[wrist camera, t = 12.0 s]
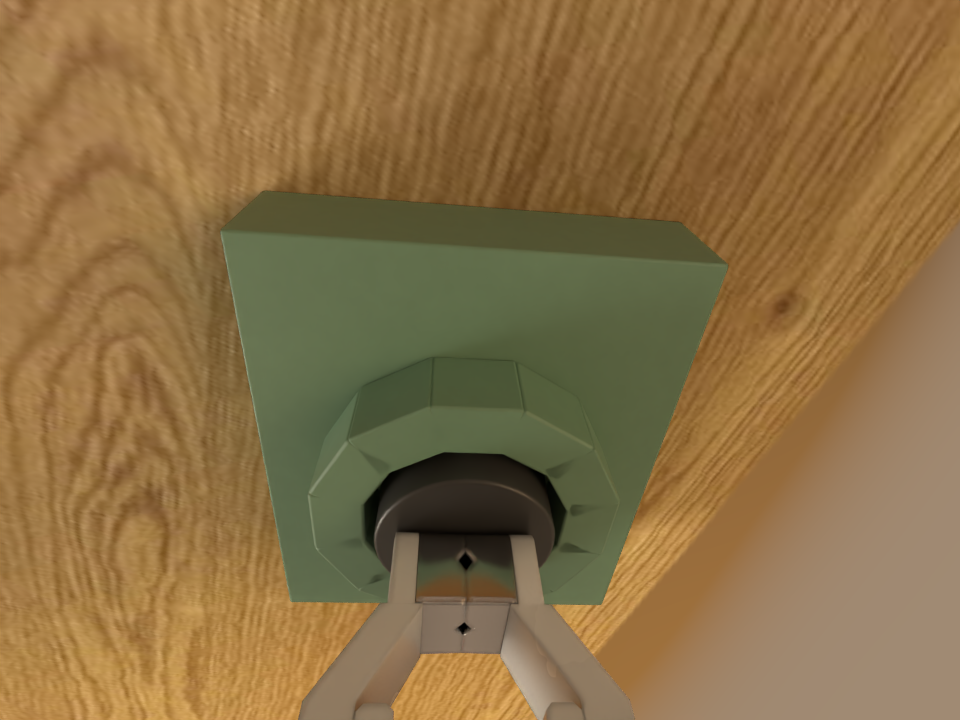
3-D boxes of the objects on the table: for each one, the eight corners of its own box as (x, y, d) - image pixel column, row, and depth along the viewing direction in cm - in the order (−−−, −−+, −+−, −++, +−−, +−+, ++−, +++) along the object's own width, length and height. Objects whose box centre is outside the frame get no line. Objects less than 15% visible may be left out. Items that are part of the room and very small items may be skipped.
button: (382, 412, 12) (370, 478, 10) (554, 419, 12) (571, 484, 10) (384, 527, 14) (375, 597, 12) (530, 530, 14) (540, 599, 13)
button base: (262, 189, 12) (174, 268, 8) (681, 221, 13) (777, 305, 9) (309, 531, 18) (273, 662, 15) (584, 537, 19) (616, 662, 16)
